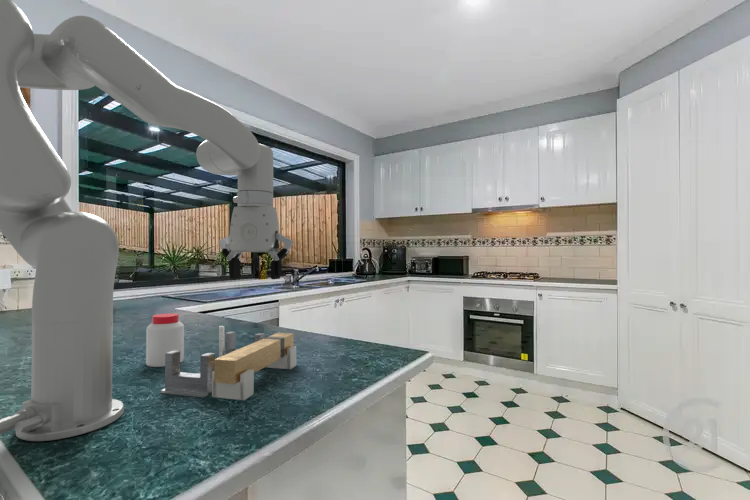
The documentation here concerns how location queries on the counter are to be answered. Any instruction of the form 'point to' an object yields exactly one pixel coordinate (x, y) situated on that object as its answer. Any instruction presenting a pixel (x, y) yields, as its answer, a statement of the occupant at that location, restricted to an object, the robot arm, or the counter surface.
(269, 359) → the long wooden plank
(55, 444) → the counter surface
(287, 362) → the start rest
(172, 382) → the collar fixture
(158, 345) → the pill bottle
